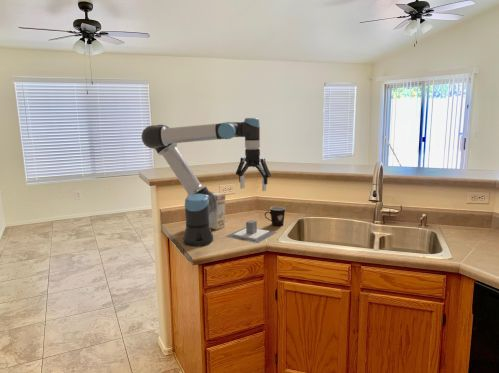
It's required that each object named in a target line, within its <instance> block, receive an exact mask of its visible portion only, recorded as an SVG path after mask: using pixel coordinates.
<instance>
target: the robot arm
mask: <svg viewBox="0 0 499 373" xmlns="http://www.w3.org/2000/svg"><path fill="white" fill-rule="evenodd" d="M260 128H261V127H260V119H259V118H258V117H245V118H244V120H243V121H237V122H236V121H232V122H231V121H225V122H219V123H211V124H209V123H208V124H199V125H189V126H188V125H187V126H178V127H169V126H167V125H166V124H157V125H156V124H155V125H148V126H146V127H145V128H144V129H143V130H142V133H141V141H142V143H143V145H144V146H145V147H147V148H149V149H152V150H153V149H154V150H155V151H156V153H157V154H158V155H160V156H162V157H163V158H164V159H165V161H166V163H167V164H168V165H169V167H170V168H171V171H172V172H173V173H174V175H175V176H176V178H177V179H178V180H179V183H180V184H181V185H182V187H183V188H184V190H185V192H186V193H187V196H186V198H185V199H184V211H185V230H184V233H183V234H184V235H183V236H182V237H183V238H182V240H183V241H182V242H183V244H184V245H186V246H190V247H202V246H207V245H210V244H212V243H213V242H214V234H213V233H212V230H211V229H212V228H210V226H209V214H210V213H211V212H212V211H213V210H214V208H215V206H216V197H215V195H214V194H213V193H212V192H213V191H210V190H209V189H208V187H207V186H206V185H204V184H201V182H200V181H199V179H198V178H197V176H196V175H195V173H194V171H193V170H192V169H191V167H190V165H189V164H188V161H187V160H186V159H185V158H184V156H183V154H182V153H181V152H180V150H179V148H178V144H180V143H193V142H203V141H213V140H214V141H215V140H230V139H233V138H244V148H245V149H244V153H245V154H244V155H245V157H243V156H241V157H240V159H239V160H240V162H239V165H238V166H237V169H236V172H235V175H238V180H239V184H240V186H239V188H240V189H246V188H245V175H244V174H245V172H246V171H248V169H249V167H250V168H251V167H252V168H256V169H257V170H258V172H259V173H260V175H261V176H262V178H261V190H262V192H265V191H267V185H268V178H271V176H272V175H271V173H270V170H269V167H268V165H267V163H266V158H260V155H261V149H260V146H261V144H260V138H261V137H260V135H261V133H260V132H261V131H260V130H261V129H260Z"/></svg>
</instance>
